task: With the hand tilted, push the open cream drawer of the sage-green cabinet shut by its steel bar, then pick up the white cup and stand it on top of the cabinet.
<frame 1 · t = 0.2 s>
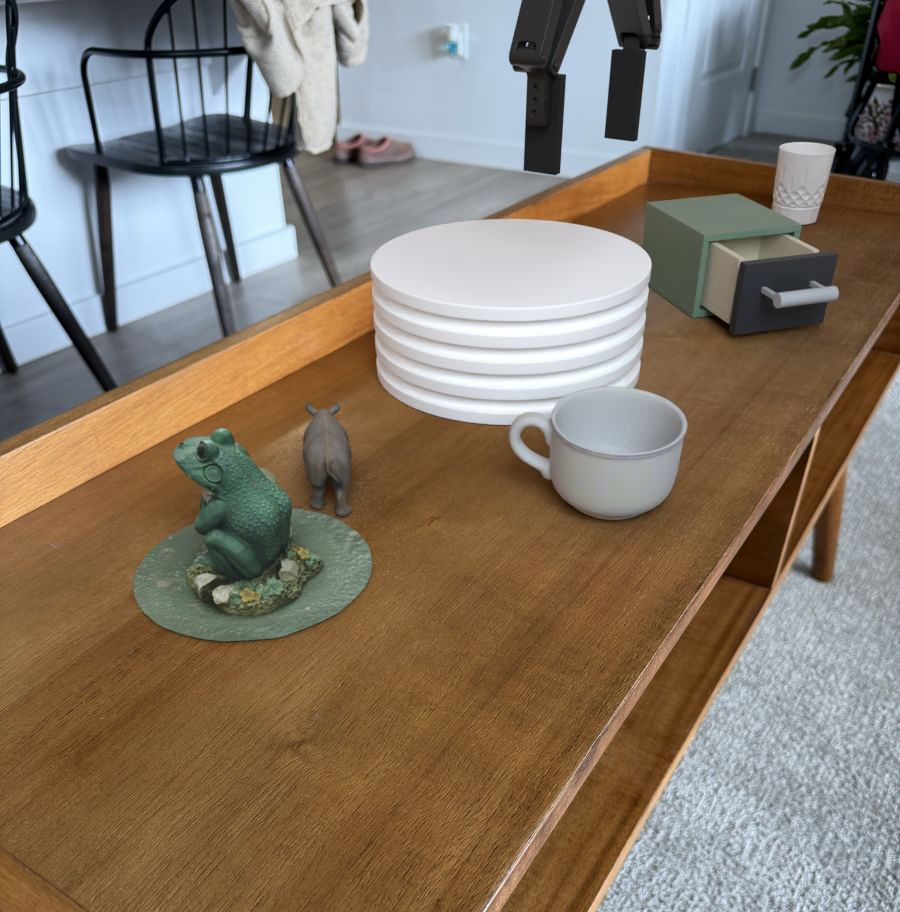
hand: (583, 155, 76), 24 cm above the table, tool pointing down, fingers open, 13 cm apart
white cup: (793, 220, 146), on the table
frog figurine: (255, 571, 74), on the table
rhino figurine: (329, 480, 85), on the table
cabinet: (709, 292, 121), on the table
drawer: (763, 281, 110), point 5 cm above the table, slide at 7.0 cm
teacup: (591, 500, 81), on the table
plate stack: (507, 368, 103), on the table
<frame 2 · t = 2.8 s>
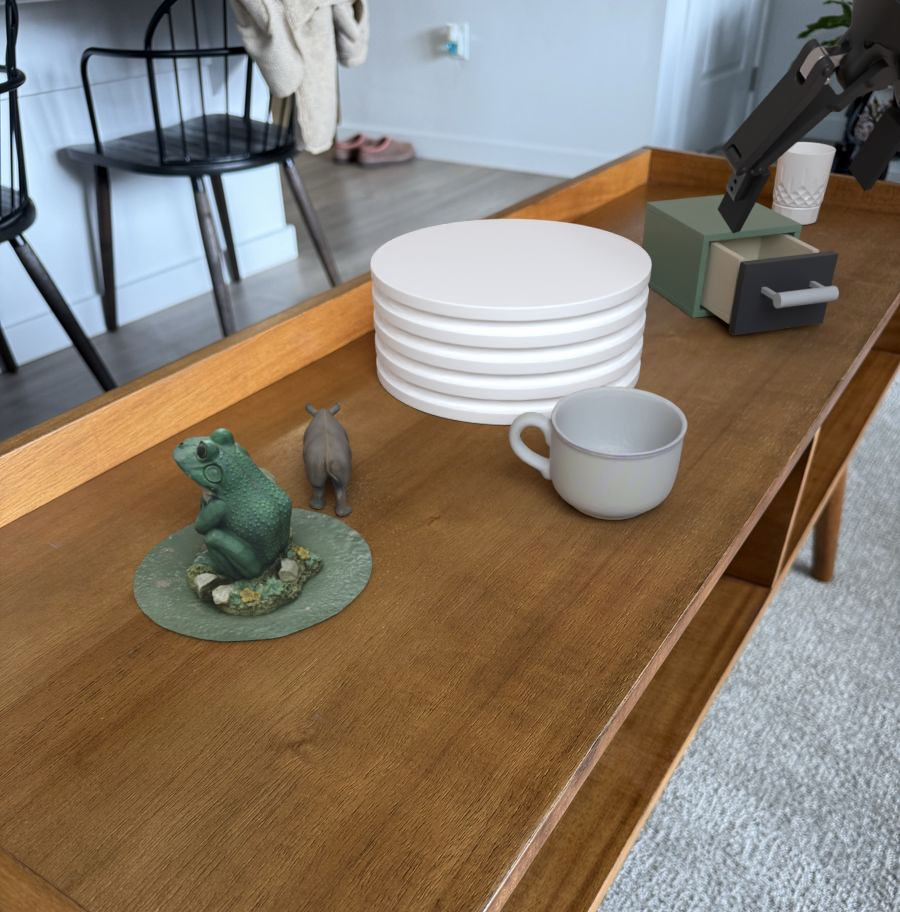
hand: (795, 199, 83), 19 cm above the table, tool tilted 35°, fingers open, 13 cm apart
nothing on the table moved.
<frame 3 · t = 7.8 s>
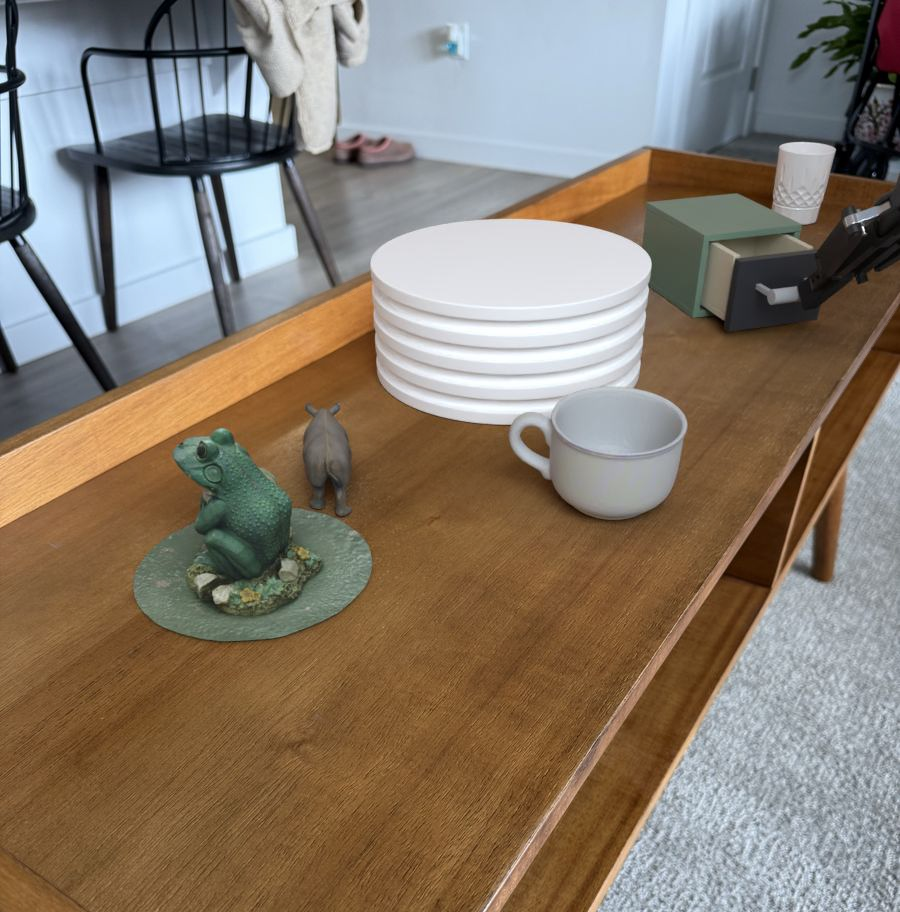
hand: (806, 297, 102), 6 cm above the table, tool tilted 45°, fingers closed
drawer: (758, 278, 110), point 5 cm above the table, slide at 5.9 cm, touching gripper
everything else where it was.
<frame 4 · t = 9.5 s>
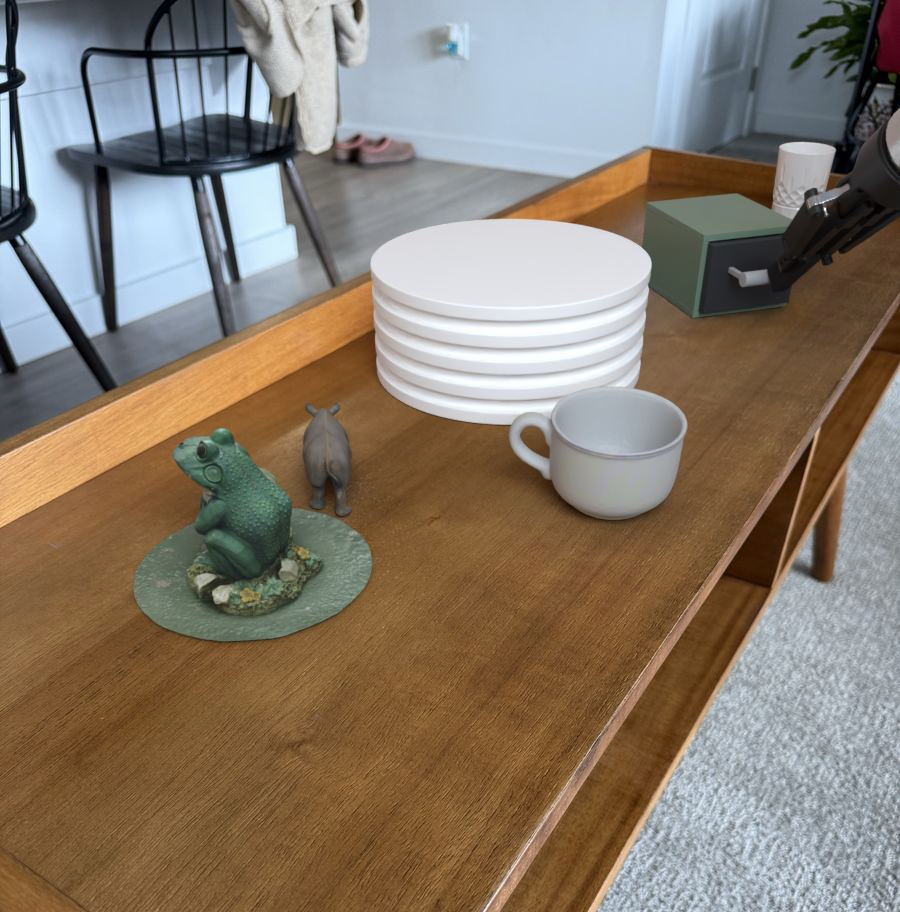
hand: (775, 280, 107), 6 cm above the table, tool tilted 45°, fingers closed
drawer: (731, 263, 115), point 5 cm above the table, slide at 0.0 cm, touching cabinet, gripper
everything else where it was.
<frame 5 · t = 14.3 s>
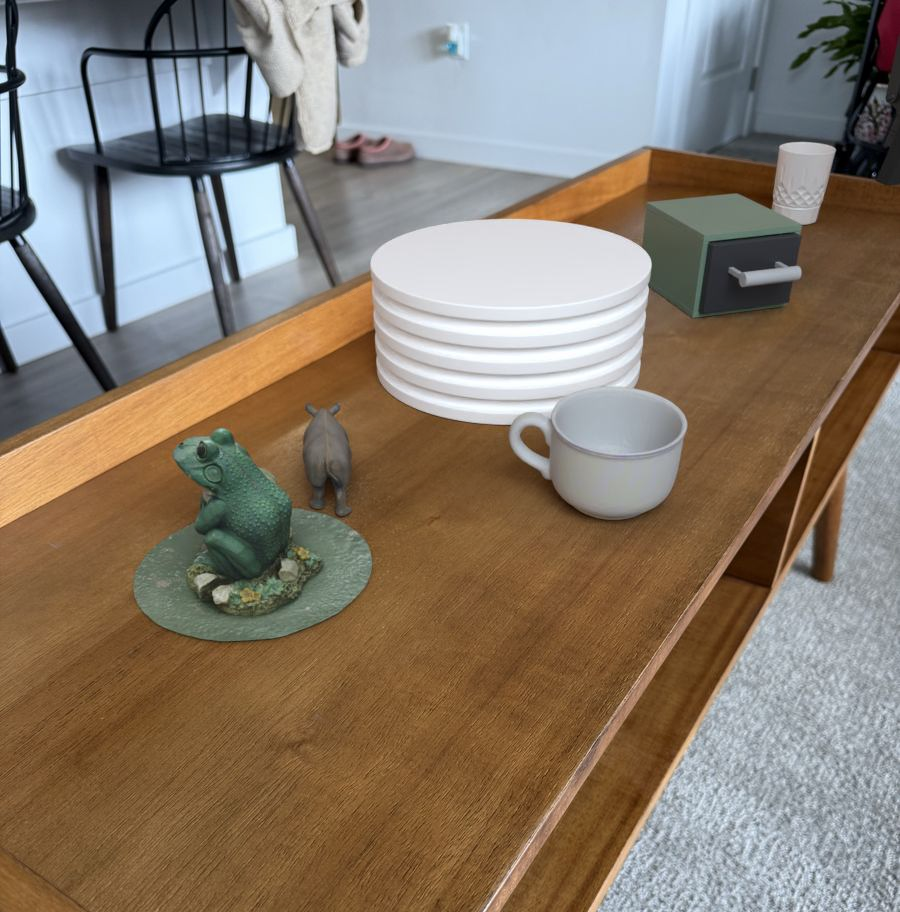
hand: (887, 182, 106), 15 cm above the table, tool pointing down, fingers closed
drawer: (731, 263, 115), point 5 cm above the table, slide at 0.0 cm, touching cabinet
everything else where it was.
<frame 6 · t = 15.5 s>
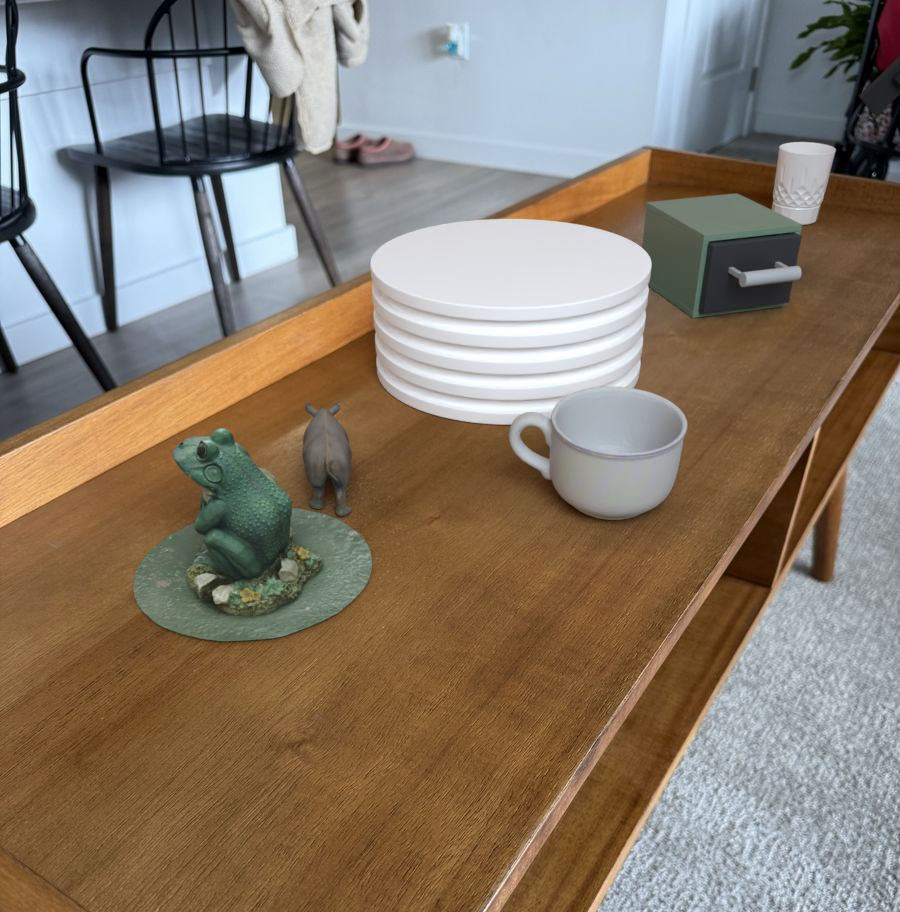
hand: (867, 105, 108), 21 cm above the table, tool tilted 40°, fingers closed
nothing on the table moved.
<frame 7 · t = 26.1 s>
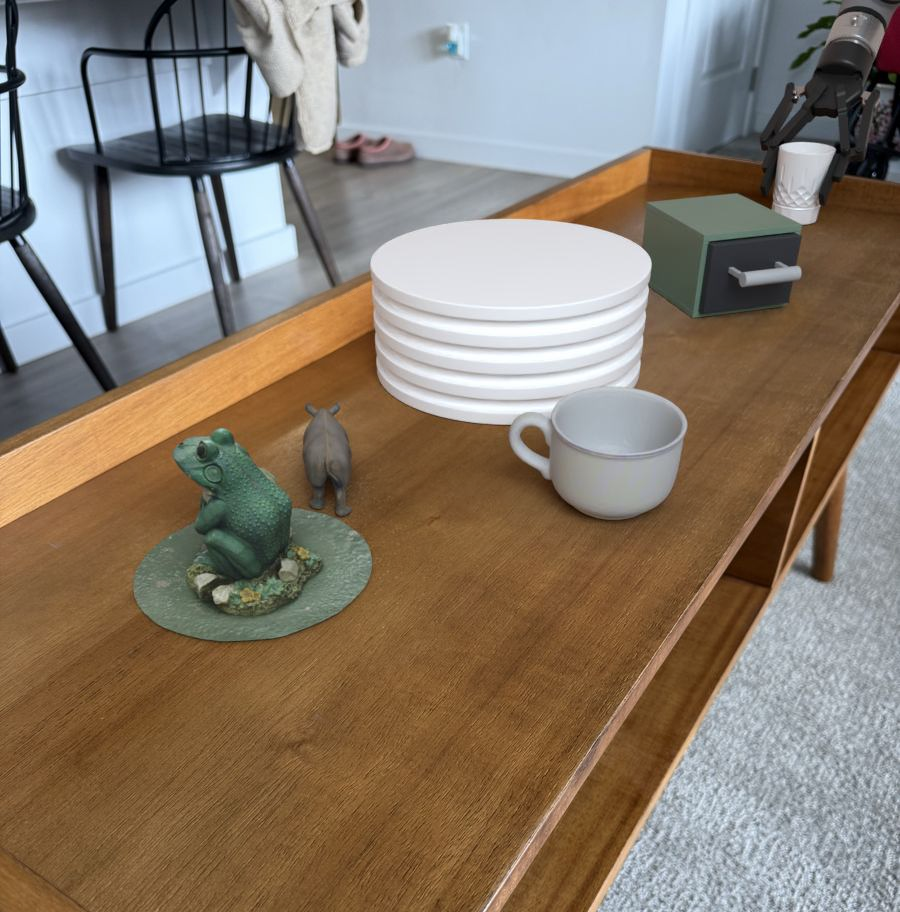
hand: (792, 195, 141), 4 cm above the table, tool tilted 45°, fingers closed on white cup, 8 cm apart
white cup: (793, 220, 146), on the table, touching gripper
everything else where it was.
when the fingers open (14 cm above the table, at t = 35.5 s): white cup stays where it is, resting on cabinet.
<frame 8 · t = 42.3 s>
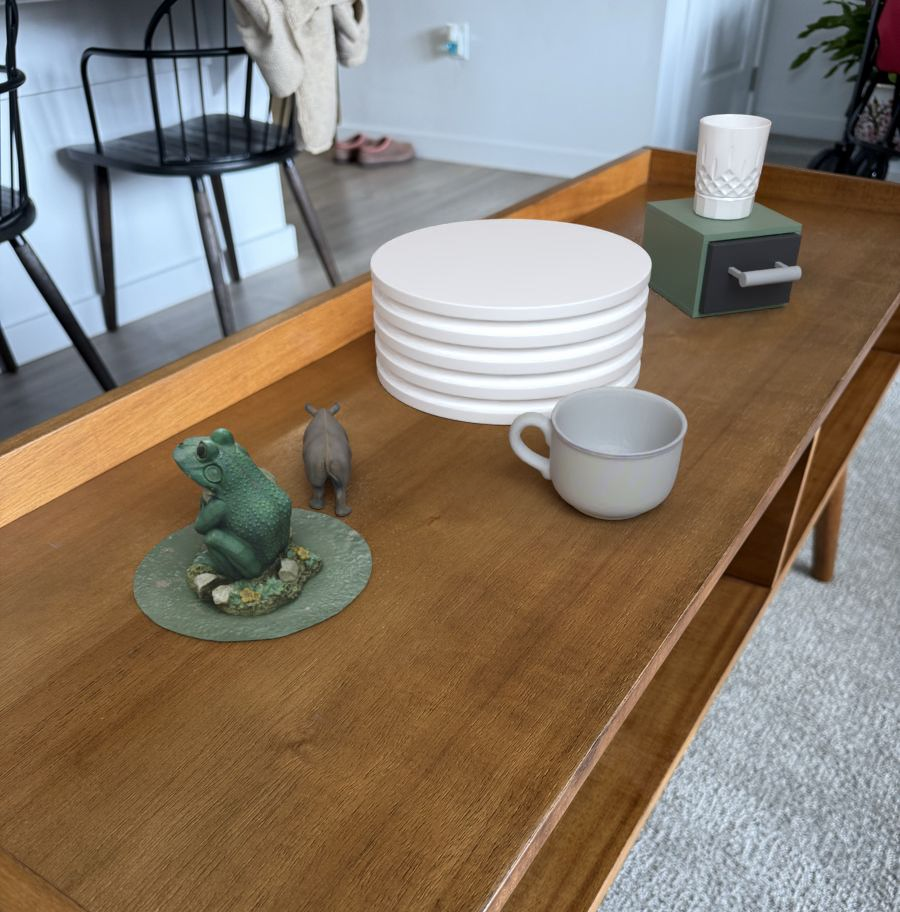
white cup: (721, 214, 115), point 9 cm above the table, touching cabinet
everything else where it was.
at the end: drawer slide at 0.0 cm; white cup inside the target area on the cabinet (0.0 cm from its centre), point 9.4 cm above the cabinet's base; white cup tilted 0° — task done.
